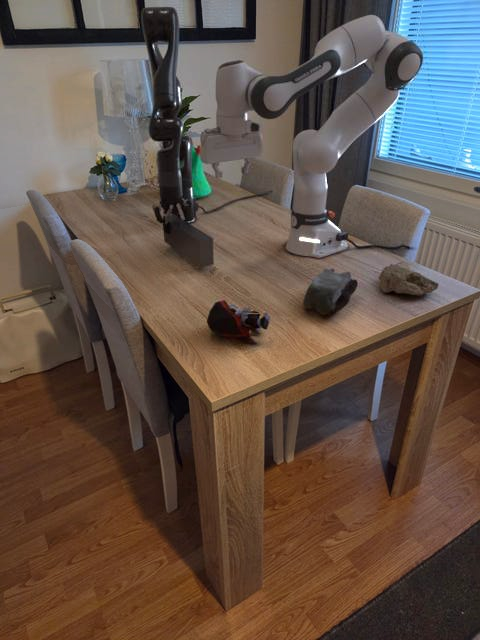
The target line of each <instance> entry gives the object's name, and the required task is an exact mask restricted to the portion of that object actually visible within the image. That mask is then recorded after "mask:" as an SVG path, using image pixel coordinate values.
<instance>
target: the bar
mask: <svg viewBox="0 0 480 640" xmlns="http://www.w3.org/2000/svg"><path fill="white" fill-rule="evenodd" d="M168 224H169V234H166V233H165V232H164V231H163V239H164V240H163V241H164V243H166V244H167V245H168V246H170V247H171V248H172V249H174V250H175V251H177V252H178V253H179V254H180V255H182V256H184V257H185V258H186V259H187V260H189V261H190V262H192V263H193V264H195V265H196V266H197V267H199V269H203V268H206V267H210V266H213V265H215V262H214V261H215V260H214V237H212V236H210V235H209V234H207V233H205V232H204V231H203V230H201V229H199V228H197V227H196V226H194V225H193V224H192V223H188V222H186V221H184V220H183V219H181V218H179V217H178V216H176V215H172V214H171V216H170V218H169V221H168Z"/></svg>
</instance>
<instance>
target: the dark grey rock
mask: <svg viewBox="0 0 480 640" xmlns="http://www.w3.org/2000/svg"><path fill="white" fill-rule="evenodd" d="M358 284H359V283H358V280H357V279H352V274H351V272H350V271H344V272H341V273H337V272H335V268H324V269H323V270H322V271H321V272H320V273H319V274H318V275H316V277H315V278H314V279H313V280H312V281H311V283H310V284H309V286H308V288H307V289H306V291H305V294H304V298H303V301H302V305H303V306H304V307H305V308H306V309H308V310H311V309H315V310H316V311H317V312H318V313H319V314H321V315H323V316H326V315H328V316H330V317H333V316H334V315H335V314H336V313H338V312H340V311H341V310H343V309H344V308H345V307H346V306H347V305H348V304H349V302H350V300H351V296H352V295H353V294H354V293H355V292H356V290H357V288H358V286H359V285H358Z"/></svg>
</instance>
